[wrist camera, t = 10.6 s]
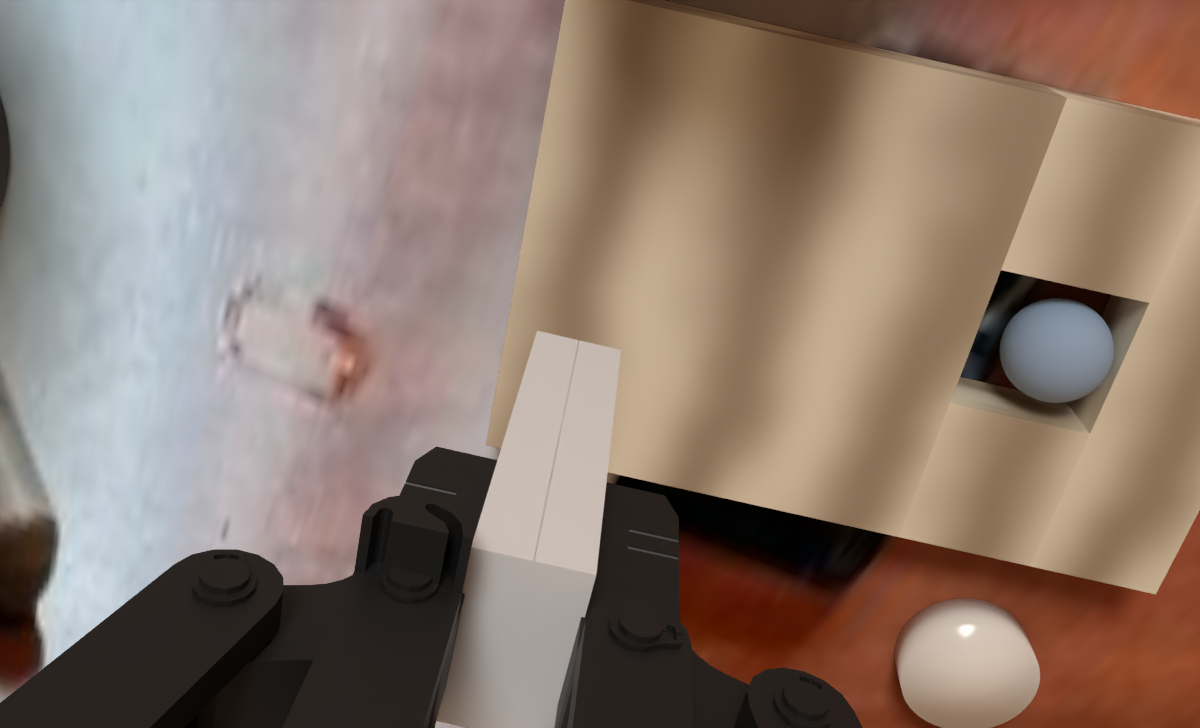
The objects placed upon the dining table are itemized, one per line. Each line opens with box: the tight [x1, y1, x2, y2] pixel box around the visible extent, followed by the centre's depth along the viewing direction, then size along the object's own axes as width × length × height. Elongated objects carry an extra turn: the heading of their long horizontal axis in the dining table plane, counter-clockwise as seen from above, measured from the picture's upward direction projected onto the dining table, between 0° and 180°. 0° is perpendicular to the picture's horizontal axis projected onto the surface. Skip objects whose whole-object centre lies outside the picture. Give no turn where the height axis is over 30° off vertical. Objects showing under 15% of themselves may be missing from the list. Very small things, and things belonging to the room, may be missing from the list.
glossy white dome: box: [894, 598, 1040, 728], centre depth 47 cm, size 6×6×2 cm
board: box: [486, 0, 1200, 594], centre depth 40 cm, size 28×18×3 cm, turn 79°
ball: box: [1000, 298, 1114, 403], centre depth 40 cm, size 4×4×4 cm
